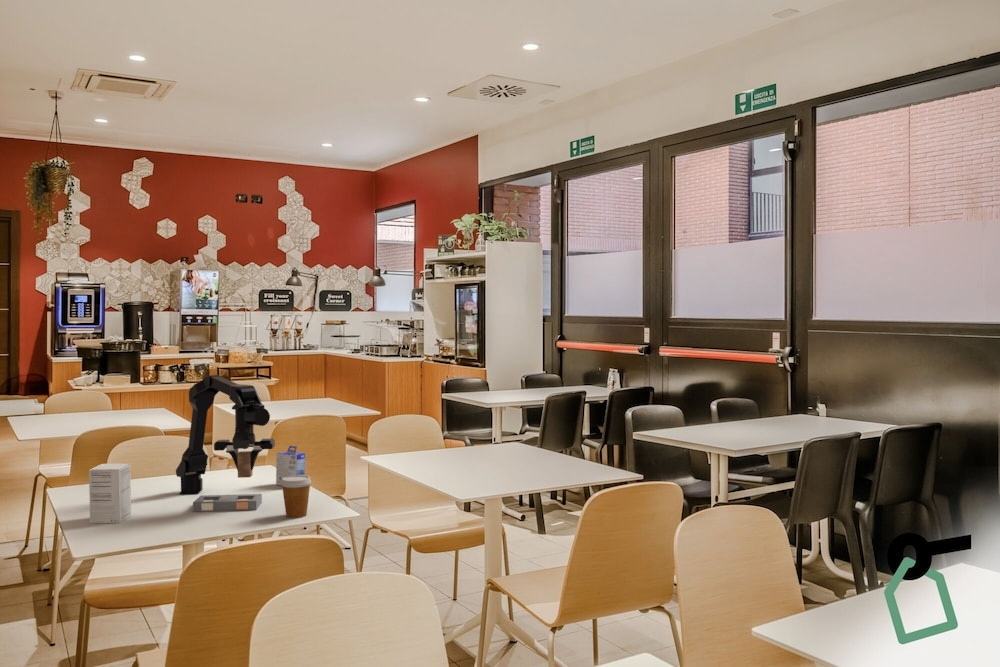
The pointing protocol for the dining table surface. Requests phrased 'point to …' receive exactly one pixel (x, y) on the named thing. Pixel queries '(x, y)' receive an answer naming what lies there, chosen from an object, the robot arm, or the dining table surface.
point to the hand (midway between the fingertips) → (245, 470)
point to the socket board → (227, 502)
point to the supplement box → (110, 493)
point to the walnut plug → (244, 464)
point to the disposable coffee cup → (296, 495)
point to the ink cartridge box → (289, 464)
